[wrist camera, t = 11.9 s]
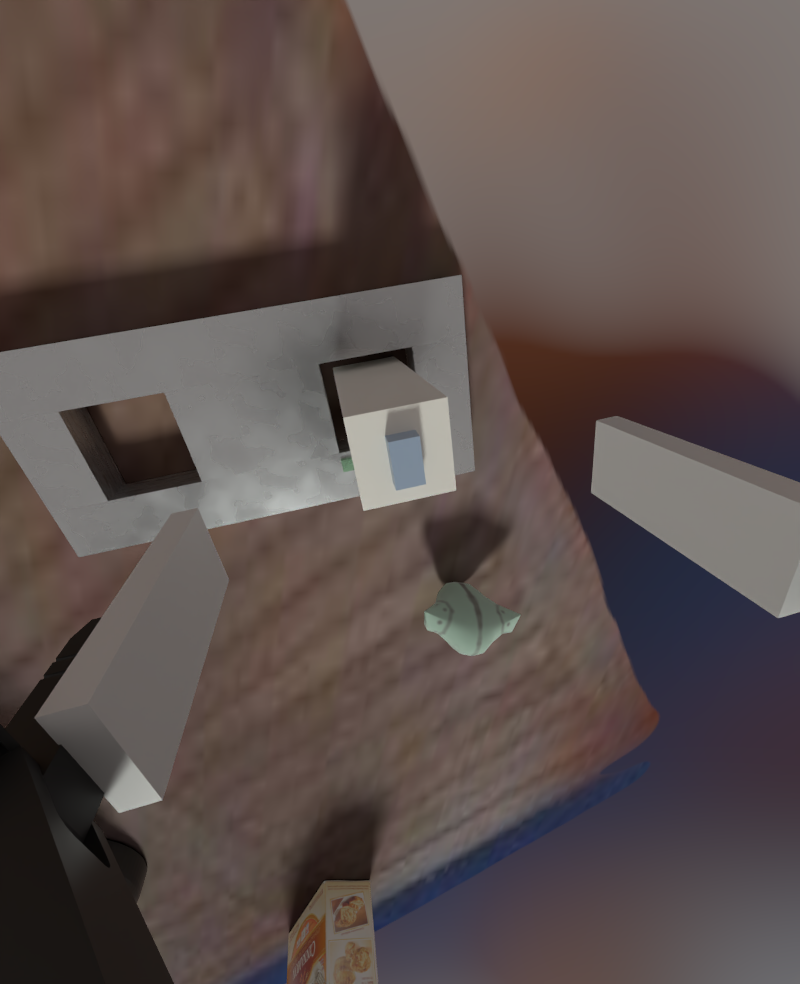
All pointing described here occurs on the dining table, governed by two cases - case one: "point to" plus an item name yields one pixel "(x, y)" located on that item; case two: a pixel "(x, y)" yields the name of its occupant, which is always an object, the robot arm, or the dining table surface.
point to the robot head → (468, 618)
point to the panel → (223, 408)
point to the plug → (395, 432)
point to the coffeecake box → (334, 937)
